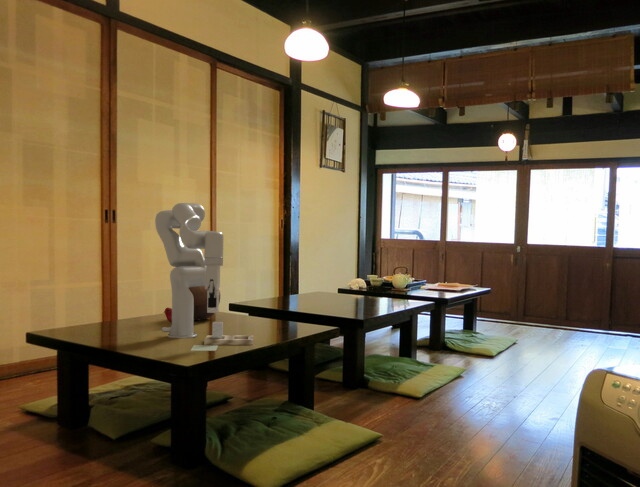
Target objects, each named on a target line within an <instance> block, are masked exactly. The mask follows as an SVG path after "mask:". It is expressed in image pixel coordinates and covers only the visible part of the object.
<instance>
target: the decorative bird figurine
mask: <svg viewBox="0 0 640 487" xmlns="http://www.w3.org/2000/svg"><path fill="white" fill-rule="evenodd" d="M163 313H164V315H165V317H166V320H167V321H168V322H169V323H171V324H172V307H171V308H170V307H165V309H164V311H163Z"/></svg>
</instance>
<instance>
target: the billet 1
mask: <svg viewBox="0 0 640 487" xmlns="http://www.w3.org/2000/svg"><path fill="white" fill-rule="evenodd" d="M213 290H215V289H213ZM219 291H220V288H218V289H217V290H216V308H208V295H209V290H208V291H207V313H214V314H217V313H219V305H220V303H219Z"/></svg>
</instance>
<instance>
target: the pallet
mask: <svg viewBox="0 0 640 487" xmlns="http://www.w3.org/2000/svg"><path fill="white" fill-rule="evenodd" d="M253 344H254V335H253V334H252V335H245V334H243V335H241V334H240V335H239V334H238V335H236V334H234V335H228V334H227V335H225V334H223V339H212V335H206V337H205V338H204V339H203V345H218V346H221V345H222V346H225V345H227V346H230V345H231V346H234V345H237V346H240V345H243V346H245V345H247V346H248V345H250V346H252V345H253Z"/></svg>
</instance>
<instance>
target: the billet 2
mask: <svg viewBox="0 0 640 487" xmlns="http://www.w3.org/2000/svg"><path fill="white" fill-rule="evenodd" d="M211 327H212V328H211V329H212V333H211V334H212V339H223V335H224V321H212V326H211Z"/></svg>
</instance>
